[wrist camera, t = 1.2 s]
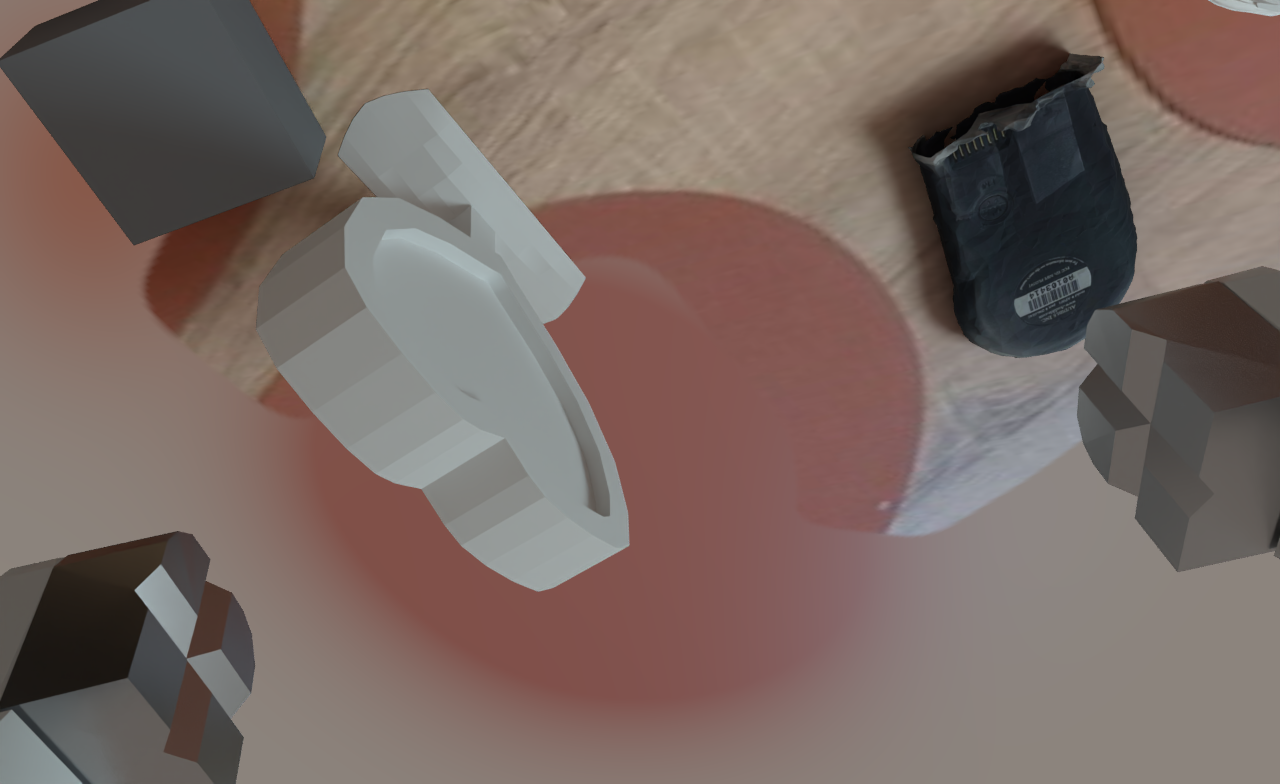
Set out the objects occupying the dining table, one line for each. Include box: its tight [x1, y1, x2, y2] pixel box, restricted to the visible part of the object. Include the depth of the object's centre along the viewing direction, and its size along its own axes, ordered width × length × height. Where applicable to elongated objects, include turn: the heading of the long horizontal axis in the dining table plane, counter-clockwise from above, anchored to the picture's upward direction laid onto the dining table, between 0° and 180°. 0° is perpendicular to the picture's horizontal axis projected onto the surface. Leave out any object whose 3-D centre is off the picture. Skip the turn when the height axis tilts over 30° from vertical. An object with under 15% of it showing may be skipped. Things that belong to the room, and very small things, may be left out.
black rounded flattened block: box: [908, 54, 1137, 358], centre depth 49 cm, size 9×6×15 cm
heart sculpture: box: [256, 89, 629, 591], centre depth 40 cm, size 16×5×18 cm, turn 33°
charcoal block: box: [0, 0, 326, 245], centre depth 40 cm, size 8×8×4 cm
